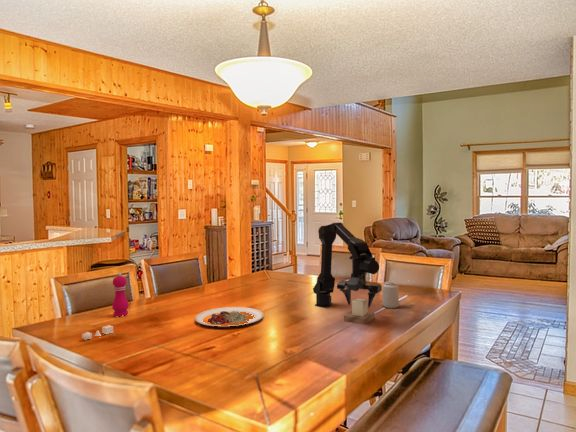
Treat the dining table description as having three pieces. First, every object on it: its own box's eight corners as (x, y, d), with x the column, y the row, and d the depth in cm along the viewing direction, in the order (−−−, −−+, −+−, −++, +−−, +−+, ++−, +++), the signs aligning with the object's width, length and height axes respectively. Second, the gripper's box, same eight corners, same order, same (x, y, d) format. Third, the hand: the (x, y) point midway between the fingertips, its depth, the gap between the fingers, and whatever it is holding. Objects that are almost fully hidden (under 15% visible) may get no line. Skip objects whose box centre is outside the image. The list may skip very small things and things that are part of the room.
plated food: (271, 312, 211) (271, 305, 211) (249, 332, 182) (249, 324, 182) (213, 309, 219) (212, 302, 219) (182, 327, 190) (182, 319, 190)
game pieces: (109, 332, 185) (108, 324, 185) (113, 334, 183) (113, 326, 183) (80, 340, 175) (80, 332, 175) (85, 342, 173) (85, 334, 173)
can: (399, 309, 212) (398, 284, 212) (382, 308, 214) (382, 283, 213) (398, 305, 220) (398, 280, 219) (382, 304, 221) (382, 280, 221)
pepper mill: (132, 314, 212) (130, 271, 210) (120, 318, 205) (119, 274, 204) (120, 312, 215) (119, 271, 214) (109, 316, 208) (107, 273, 207)
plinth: (344, 322, 195) (343, 315, 195) (353, 316, 203) (353, 310, 203) (365, 325, 189) (365, 318, 189) (374, 319, 198) (374, 313, 198)
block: (352, 314, 196) (352, 301, 195) (356, 311, 200) (356, 298, 199) (362, 316, 193) (362, 302, 192) (367, 313, 197) (367, 300, 197)
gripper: (331, 271, 193) (331, 307, 194) (372, 275, 183) (373, 313, 184) (342, 267, 203) (342, 302, 203) (382, 271, 193) (382, 307, 194)
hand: (359, 306), depth 196 cm, fingers open, 9 cm apart
